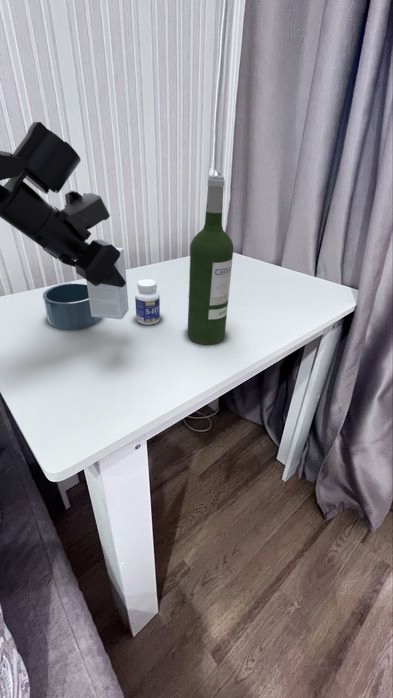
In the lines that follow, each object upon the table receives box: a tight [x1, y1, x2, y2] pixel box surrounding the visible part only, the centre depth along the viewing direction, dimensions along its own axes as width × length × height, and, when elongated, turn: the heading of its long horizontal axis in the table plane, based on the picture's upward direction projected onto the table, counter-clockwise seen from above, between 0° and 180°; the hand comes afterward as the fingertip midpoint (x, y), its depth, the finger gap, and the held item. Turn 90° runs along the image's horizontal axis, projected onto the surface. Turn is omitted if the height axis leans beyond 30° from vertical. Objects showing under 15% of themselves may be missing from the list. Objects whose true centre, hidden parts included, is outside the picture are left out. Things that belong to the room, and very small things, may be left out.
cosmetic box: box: [85, 247, 130, 320], centre depth 59 cm, size 6×4×12 cm
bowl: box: [42, 282, 102, 330], centre depth 73 cm, size 11×11×6 cm
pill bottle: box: [134, 278, 161, 326], centre depth 73 cm, size 5×5×9 cm
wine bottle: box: [187, 175, 234, 346], centre depth 62 cm, size 8×8×30 cm
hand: (114, 278), depth 59 cm, fingers closed on cosmetic box, 7 cm apart
